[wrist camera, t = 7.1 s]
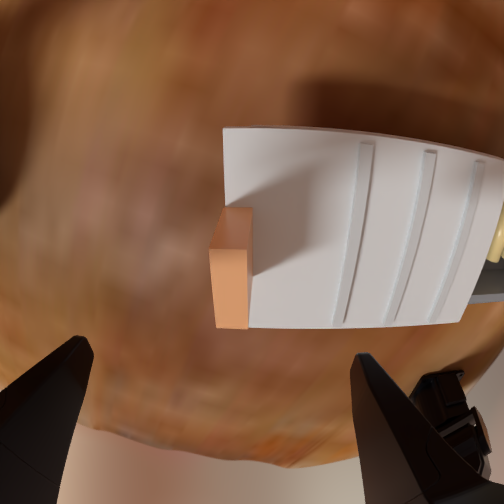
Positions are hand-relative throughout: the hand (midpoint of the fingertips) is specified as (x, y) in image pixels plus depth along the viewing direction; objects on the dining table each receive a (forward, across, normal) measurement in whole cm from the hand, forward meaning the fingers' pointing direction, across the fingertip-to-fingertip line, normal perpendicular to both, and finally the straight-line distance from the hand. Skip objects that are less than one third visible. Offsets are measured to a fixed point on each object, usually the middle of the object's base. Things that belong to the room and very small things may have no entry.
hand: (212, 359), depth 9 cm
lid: (+9, -8, 0) cm, 12 cm away
